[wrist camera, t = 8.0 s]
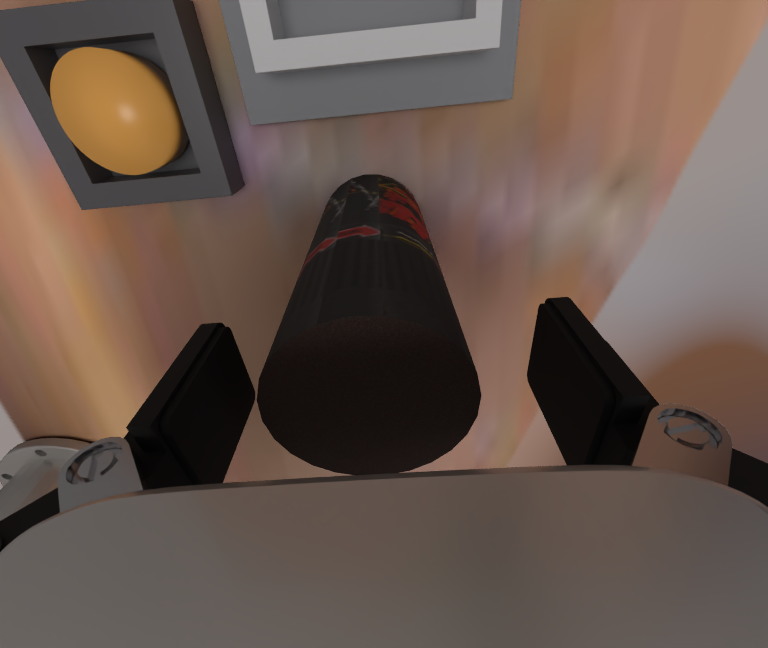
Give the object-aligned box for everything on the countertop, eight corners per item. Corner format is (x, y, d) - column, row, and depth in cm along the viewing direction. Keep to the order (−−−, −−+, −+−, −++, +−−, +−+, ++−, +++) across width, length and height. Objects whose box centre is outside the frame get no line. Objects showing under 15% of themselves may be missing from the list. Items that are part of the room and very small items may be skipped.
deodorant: (305, 199, 22) (208, 365, 9) (399, 156, 20) (440, 276, 8) (349, 283, 25) (324, 494, 12) (434, 249, 23) (503, 444, 11)
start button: (204, 162, 20) (188, 169, 18) (112, 171, 20) (88, 179, 18) (165, 44, 17) (142, 40, 15) (58, 56, 17) (24, 53, 15)
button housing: (244, 185, 21) (231, 195, 19) (107, 198, 21) (82, 210, 19) (192, 0, 17) (169, -10, 15) (20, 20, 17) (-24, 12, 15)
